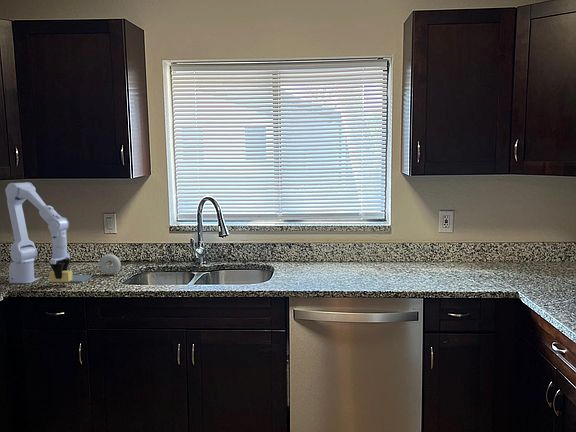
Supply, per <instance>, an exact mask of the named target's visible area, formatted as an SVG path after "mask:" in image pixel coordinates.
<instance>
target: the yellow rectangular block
mask: <svg viewBox="0 0 576 432" xmlns="http://www.w3.org/2000/svg"><path fill="white" fill-rule="evenodd" d="M72 275H73V270H67V271H62V278H61V279H56V277H55V274H54V271H53V270H51V271H50V272H49V282H69V281H71V280H72Z"/></svg>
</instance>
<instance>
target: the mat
mask: <svg viewBox="0 0 576 432" xmlns="http://www.w3.org/2000/svg"><path fill="white" fill-rule="evenodd" d="M92 277H93V274H72V280H71V281H69V282H56V283H57V284H72V283H73V284H83V283H85V282H86V281H87V280H89V279H91V278H92ZM54 283H55V282H53V283H52V282H51V284H54ZM56 283H55V284H56Z"/></svg>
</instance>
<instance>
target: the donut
mask: <svg viewBox="0 0 576 432" xmlns="http://www.w3.org/2000/svg"><path fill="white" fill-rule="evenodd" d="M108 262H111V263H112V266H111V267H109V266H108ZM98 263H99V264H98V266H99V270H100V271H101V272H102V273H103V274H105V275H108V276H112V275H115V274H117V273H118V272H119V271H120V269H121V265H122V263H121V260H120V258H119V257H118V256H117V255H115V254H112V253H108V254H104V255H103V256H102V257H101V258H100V260H99V262H98Z"/></svg>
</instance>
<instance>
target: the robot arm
mask: <svg viewBox="0 0 576 432" xmlns="http://www.w3.org/2000/svg"><path fill="white" fill-rule="evenodd" d="M36 190H37V189H36V187H35V186H34V184H33V183H31V182H29V181H26V182H10V183H8V184H7V186H6V188H5V189H4V191H5V196H6V202H7V209H8V212H9V218H10V222H11V228H12V234H13V239H14V242H13V243H12V244H11V245H10V254H9V256H10V259H11V261H12V262H10V264H9V267H8V276H9V282H8V284H32V283H33V282H36V281H38V280H39V278H38V277H35V264H34V263H35V262H34V261H36V259H37V257H38V250H37V248H36V246H35V243H34V242H33V241H32V240H30V239H29V234H28V230H27V225H26V218H25V214H24V209H23V204H24V202H25V201H27V200H28V201H29V202H30V203H31V204H32V205H33V206H34V207H35V208H36V209H38V212H39V213H38V215H39V216H40V217H41V218H42V219H43V220H44V221H45V222H46V224H48V225H47V228H48V231H49V232H50V236H51V245H52V246H51V247H52V248H51V249H52V257H51V259H50V261H49V266H50V267H51V269H52V271H54V274H55V277H56V279H61V278H62V271H68V268H69V265H70V263H71V259H70V258H71V255H70V253H69V252H68V241H67V231H68V230H69V228H70V222H69V220H68V218H66V217H63V216H61V215H60V214H59V213H58V212H57V211H56V210H55V209H54V207H53V206H51V205H47V204H46V203H45V201H43V199H42V197H41V196H40V195H39V194H38V192H37V191H36Z"/></svg>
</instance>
